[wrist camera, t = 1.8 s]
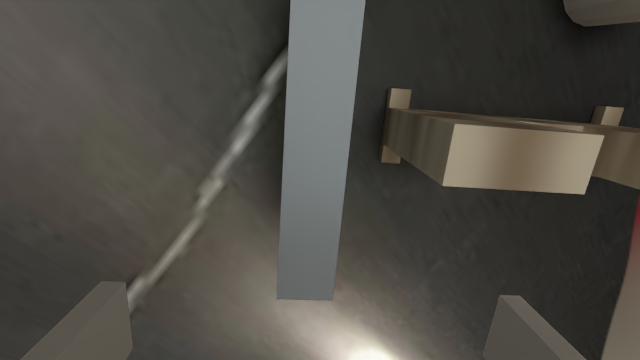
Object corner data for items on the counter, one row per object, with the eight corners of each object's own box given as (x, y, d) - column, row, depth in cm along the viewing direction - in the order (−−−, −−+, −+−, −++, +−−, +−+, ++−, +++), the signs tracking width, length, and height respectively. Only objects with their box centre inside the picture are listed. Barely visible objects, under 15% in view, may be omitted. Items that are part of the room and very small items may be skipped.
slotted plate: (319, 212, 28) (332, 300, 17) (286, 211, 28) (276, 299, 16) (338, -12, 23) (377, -108, 11) (298, -16, 23) (296, -120, 11)
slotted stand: (378, 159, 27) (436, 214, 16) (388, 88, 25) (461, 90, 14) (589, 173, 29) (783, 232, 17) (612, 107, 27) (844, 123, 15)
